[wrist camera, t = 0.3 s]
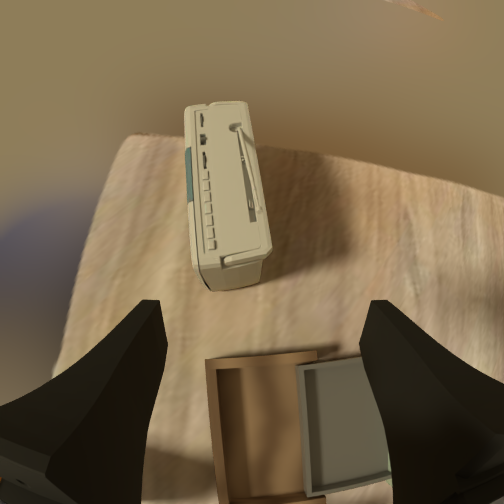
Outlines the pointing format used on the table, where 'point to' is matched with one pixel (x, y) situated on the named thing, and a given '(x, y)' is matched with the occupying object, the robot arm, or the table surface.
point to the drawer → (340, 428)
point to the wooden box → (257, 429)
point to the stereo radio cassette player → (224, 196)
